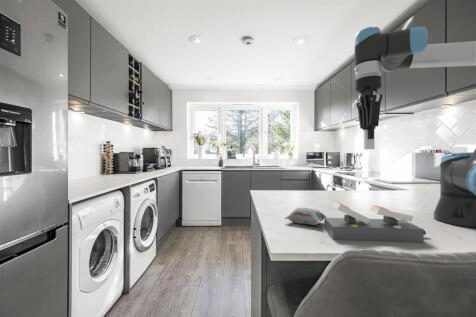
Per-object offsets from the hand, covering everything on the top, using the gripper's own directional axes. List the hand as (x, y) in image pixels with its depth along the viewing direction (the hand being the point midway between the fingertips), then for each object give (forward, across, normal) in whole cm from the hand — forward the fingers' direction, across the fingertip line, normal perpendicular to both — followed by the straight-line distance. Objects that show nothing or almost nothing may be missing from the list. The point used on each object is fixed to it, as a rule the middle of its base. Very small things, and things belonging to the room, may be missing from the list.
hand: (369, 149), depth 78 cm
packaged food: (+25, +1, -22) cm, 33 cm away
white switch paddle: (+19, +11, -11) cm, 25 cm away
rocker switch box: (+25, +11, -4) cm, 28 cm away
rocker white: (+19, +12, 0) cm, 22 cm away
